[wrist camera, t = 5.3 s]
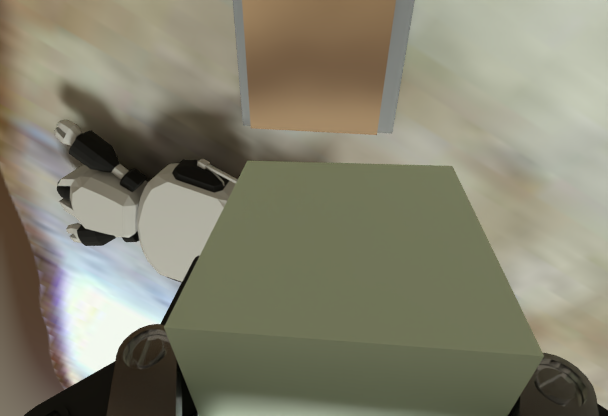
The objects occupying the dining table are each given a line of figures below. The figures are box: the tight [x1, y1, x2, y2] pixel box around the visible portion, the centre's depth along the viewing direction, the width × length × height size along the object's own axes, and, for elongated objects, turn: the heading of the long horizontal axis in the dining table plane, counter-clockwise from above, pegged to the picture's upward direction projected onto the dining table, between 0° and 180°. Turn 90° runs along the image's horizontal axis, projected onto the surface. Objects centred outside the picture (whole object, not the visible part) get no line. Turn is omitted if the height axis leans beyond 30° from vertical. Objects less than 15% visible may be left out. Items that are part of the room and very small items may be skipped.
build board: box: [233, 0, 414, 133], centre depth 22 cm, size 10×10×1 cm
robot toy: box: [54, 120, 238, 282], centre depth 28 cm, size 12×4×15 cm
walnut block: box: [242, 0, 396, 135], centre depth 20 cm, size 7×7×4 cm
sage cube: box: [164, 161, 544, 416], centre depth 10 cm, size 6×6×6 cm
